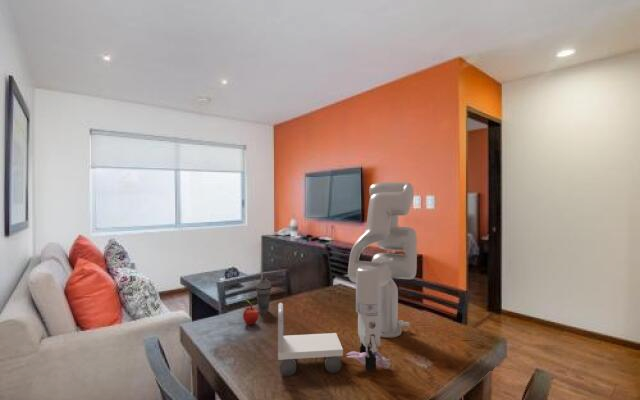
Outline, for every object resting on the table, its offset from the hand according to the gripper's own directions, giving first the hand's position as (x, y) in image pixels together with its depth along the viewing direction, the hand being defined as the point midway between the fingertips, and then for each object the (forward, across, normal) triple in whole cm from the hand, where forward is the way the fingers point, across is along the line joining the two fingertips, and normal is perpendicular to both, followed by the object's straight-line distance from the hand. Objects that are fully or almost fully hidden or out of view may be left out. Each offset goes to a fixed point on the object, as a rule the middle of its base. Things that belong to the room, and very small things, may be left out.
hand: (367, 363), depth 100 cm
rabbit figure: (+1, 0, -1) cm, 2 cm away
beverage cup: (+2, +54, +35) cm, 65 cm away
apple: (+2, +40, +40) cm, 57 cm away
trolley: (+2, +5, +18) cm, 19 cm away
